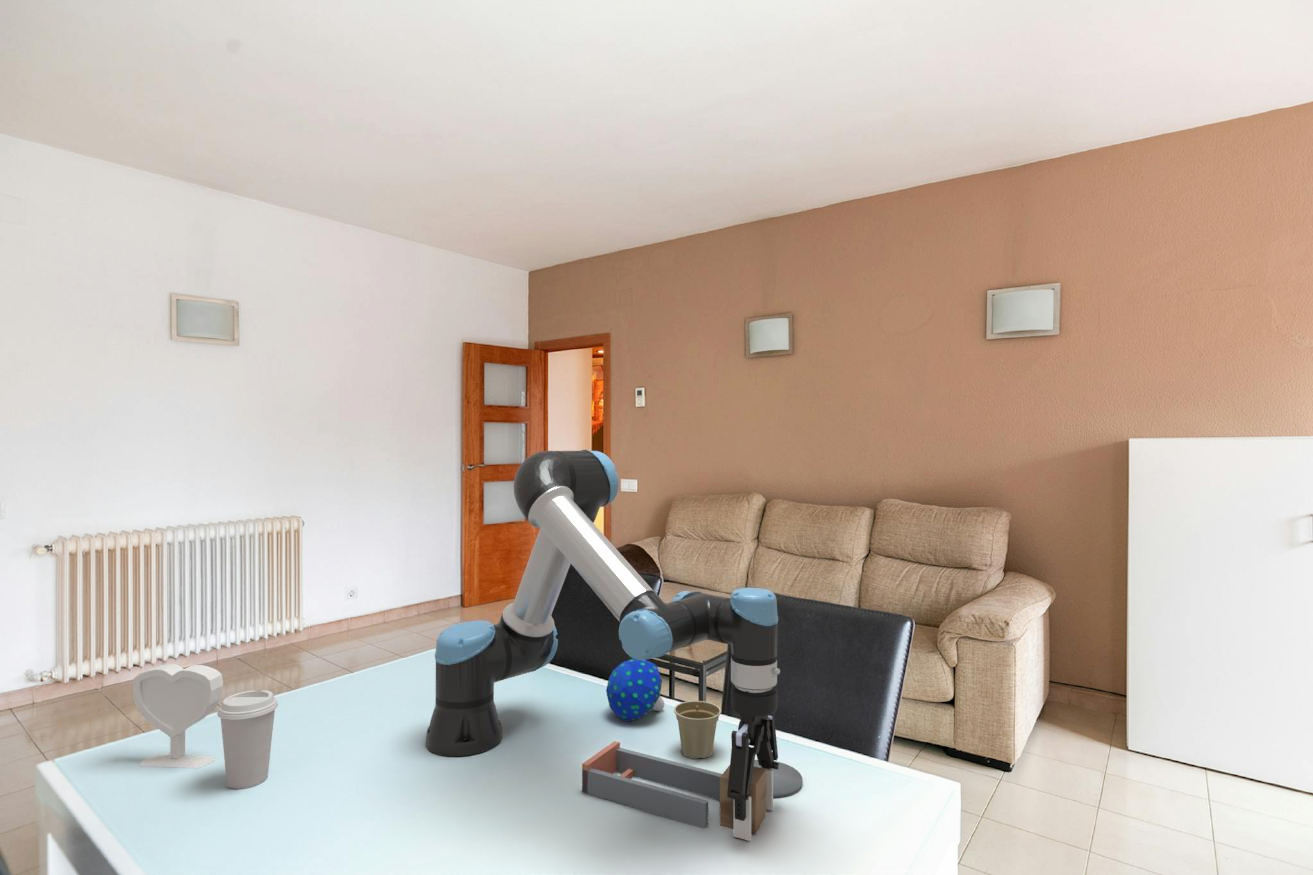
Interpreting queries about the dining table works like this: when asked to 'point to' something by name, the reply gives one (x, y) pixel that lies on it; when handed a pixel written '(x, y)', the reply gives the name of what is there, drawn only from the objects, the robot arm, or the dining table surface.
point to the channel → (648, 796)
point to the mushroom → (635, 689)
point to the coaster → (784, 780)
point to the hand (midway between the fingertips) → (753, 821)
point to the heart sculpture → (177, 707)
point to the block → (755, 793)
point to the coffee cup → (247, 736)
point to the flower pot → (697, 727)
